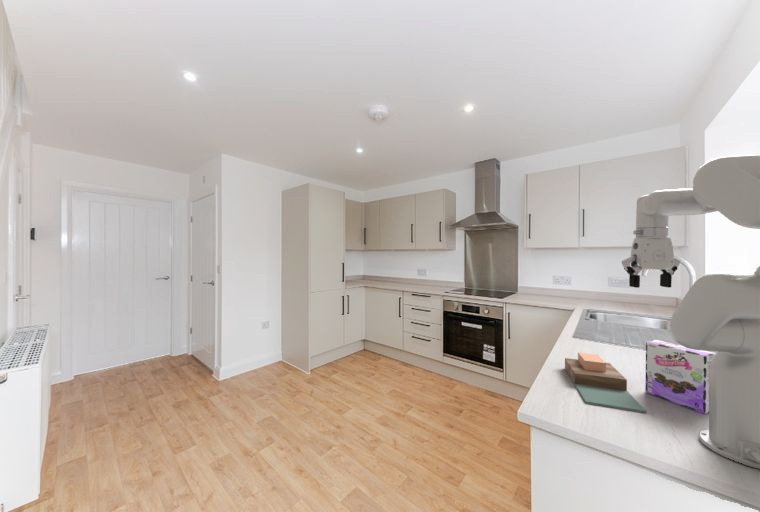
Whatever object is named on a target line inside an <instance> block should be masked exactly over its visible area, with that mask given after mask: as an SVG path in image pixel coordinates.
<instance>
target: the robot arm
mask: <svg viewBox="0 0 760 512" xmlns="http://www.w3.org/2000/svg"><path fill="white" fill-rule="evenodd" d="M692 179H693V180H692V184H693V185H692V188H677V189H662V190H655V191H653V192H651V193H648V194H645V195H642V196H639V197H638V198H637V200H636V212H635V214H636V216H635V217H636V219H635V230H633V232H632V233H633V235H635V238H633V241H632V244H631V250H630V256H629V257H628V258H626V259H624V260H621V265H622V267H623V269H624V271H626V272H627V275H629V276H628V277H629V279H628V281H629V282H628V283H629V285H628V286H629V287H631V288H636V289H637V288H640V287H641V284H640V283H641V275H640V274H639V273H641V271H642V270H659V271H660V272H661V273H660V276H659V286H660V287H664V288H672V278H673V277H672V276H674V275H675V272H676V271H677V270H678V267H679V265H680V264H681V260H679V259H677V258H675V257H674V247H673V242H672V238H671V237H669V218H670V216H672V217H674V216H697V215H698V216H699V215H705V214H710V213H715V212H716V213H717V212H719V213H720V214H722V216H724V217H725V218H726V219H728V220H729V221H730V222H731V223H734V224H736V225H738V226H740V227H743V228H748V229H753V230H754V229H756V230H757V229H758V230H760V153H758V154H757V153H756V154H744V155H729V156H726V155H725V156H721V157H716V158H713V159H710V160H709V161H707V162H704V164H703V165H701V166H700V167H699V168H698V170H697V171H695V173H694V176H693V178H692ZM669 332H670V335H671V337H672V339H673V340H674V341H675V343H677V344H678V345H681V346H684V347H686V348H689V349H694V350H703V351H708V352H716V355H715V356H714V358H713V359H712V361H711V364H710V368H709V413H708V429H702V430H701V431H700V430H699V433H698V440H700V442H701V443H702V444H703V445H704V446H705V447H706V448H708V449H710V450H711V451H713V452H714V453H716V454H717V455H720V456H722V457H725V458H726V459H728V458H729V460H731V461H733V460H734V462H736V463H738V462H739V463H738V464H741V463H742V464H741V465H745V466H747V467H751V468H755V469H758V470H760V265H759V266H758V267H757V268H755V269H752V270H749V271H717V272H711V273H708V274H707V273H706V274H705V275H702V276H701V277H700V278H698V279H697V280H695V282H693V284H692V285H691V286H690V288H689V290H688V291H687V293H686V294H685V295H684V297H683V298H682V300H681V301H680V303H679V304H678V306H677V307H676V308H675V310H674V312H673V313H672V315H671V318H670V320H669Z"/></svg>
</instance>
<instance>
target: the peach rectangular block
mask: <svg viewBox="0 0 760 512" xmlns="http://www.w3.org/2000/svg"><path fill="white" fill-rule="evenodd" d="M577 360H578V361H579V362H580V364H581V365H582V366H583V368H584V369H587V370H595V371H603V372H606V363H607V362H606V361H604V359H602V357H601V356H599V355H598V354H595V353H586V352H578V353H577Z"/></svg>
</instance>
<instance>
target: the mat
mask: <svg viewBox="0 0 760 512" xmlns="http://www.w3.org/2000/svg"><path fill="white" fill-rule="evenodd" d="M574 386H575V388H576V390H577V391H578V392H579V394H580V396H581V398H582V400H583V401H584V402H585V404H588V405H594V406H599V407H607V408H612V409H619V410H624V411H631V412H637V413H643V414H647V410H646V409H645V408H644V407H643V405H642V404H640V403H639V401H637V400H636V398H635V397H634V396H633V395H632V394H631V393H630V392H629V391H628V390H627V391H623V390H616V389H609V388H602V387H595V386H588V385H581V384H574Z"/></svg>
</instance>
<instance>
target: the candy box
mask: <svg viewBox="0 0 760 512" xmlns="http://www.w3.org/2000/svg"><path fill="white" fill-rule="evenodd" d="M716 354H717V352H714V351H703V350H694V349H689V348H686V347H684V346H682V345H680V344H675V343H671V342H667V341H663V340H659V339H651V340H648V341H646V342H645V393H647V394H650V395H652V396H655V397H657V398H660V399H662V400H666V401H669V402H670V403H673V404H676V405H679V406H680V407H684V408H687V409H690V410H691V411H692V410H693V411H695V412H698V413H701V414H703V415H706V414H709V368H710V364H711V361H712V359H713V358H714V356H715V355H716Z"/></svg>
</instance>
